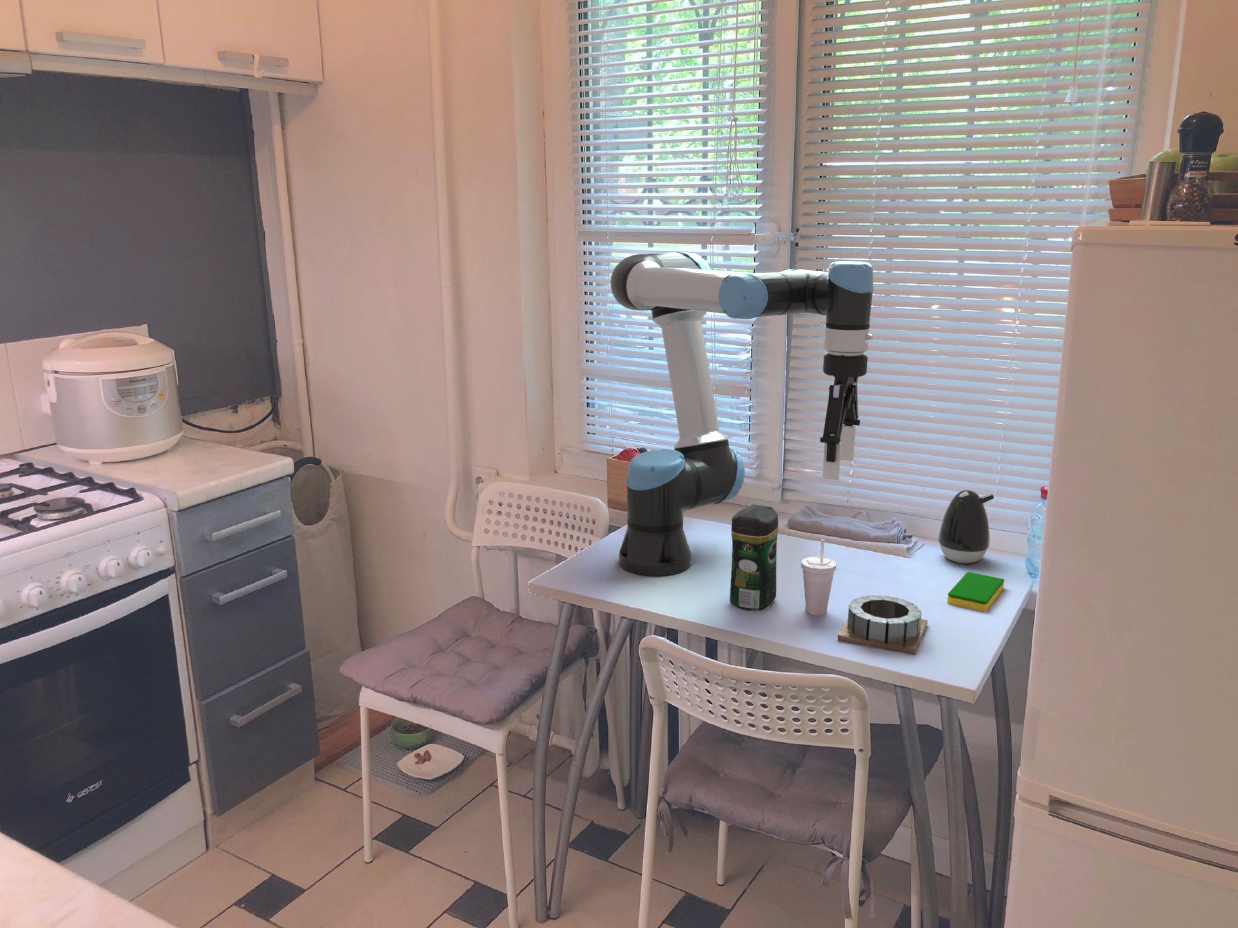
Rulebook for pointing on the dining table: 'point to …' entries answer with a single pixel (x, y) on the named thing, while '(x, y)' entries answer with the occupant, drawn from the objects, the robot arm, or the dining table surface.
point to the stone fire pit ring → (884, 624)
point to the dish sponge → (975, 591)
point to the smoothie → (817, 582)
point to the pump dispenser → (965, 528)
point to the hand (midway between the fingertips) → (838, 469)
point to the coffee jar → (754, 557)
